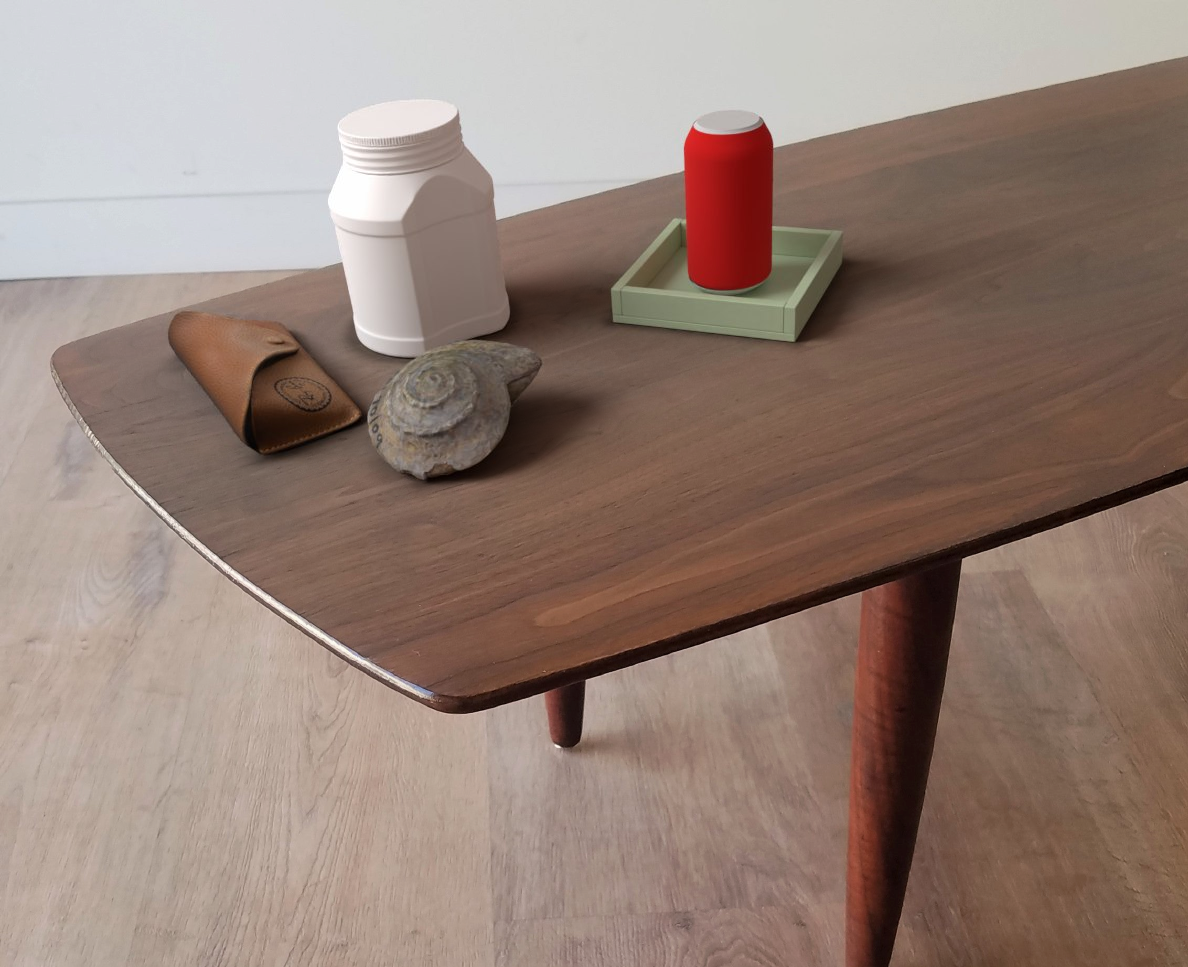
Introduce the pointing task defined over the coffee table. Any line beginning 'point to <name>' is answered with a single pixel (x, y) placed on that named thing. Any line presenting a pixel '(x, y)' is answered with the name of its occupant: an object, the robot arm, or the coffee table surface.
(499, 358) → the fossilized seashell
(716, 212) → the beverage can
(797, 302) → the drinks tray
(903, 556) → the coffee table surface
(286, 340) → the sunglasses case
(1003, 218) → the coffee table surface
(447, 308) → the jar
